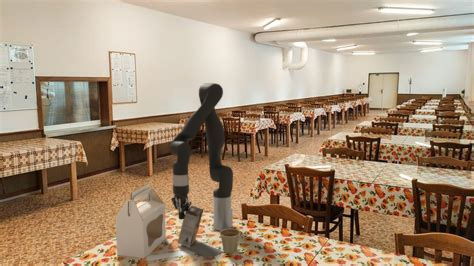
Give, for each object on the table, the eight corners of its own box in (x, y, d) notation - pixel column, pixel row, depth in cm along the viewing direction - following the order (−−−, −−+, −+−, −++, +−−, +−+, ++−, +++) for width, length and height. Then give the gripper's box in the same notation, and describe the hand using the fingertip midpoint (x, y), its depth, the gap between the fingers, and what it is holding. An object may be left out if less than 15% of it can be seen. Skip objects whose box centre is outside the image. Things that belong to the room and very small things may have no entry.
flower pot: (225, 257, 159) (225, 238, 158) (216, 249, 167) (216, 230, 166) (244, 252, 163) (244, 234, 162) (234, 244, 172) (234, 227, 171)
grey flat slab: (201, 242, 174) (201, 242, 174) (223, 252, 164) (223, 251, 164) (186, 248, 168) (186, 248, 167) (208, 258, 158) (208, 258, 158)
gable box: (144, 259, 158) (141, 195, 155) (116, 255, 161) (113, 193, 158) (166, 238, 179) (164, 182, 176) (141, 235, 183) (139, 180, 179)
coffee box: (183, 235, 179) (191, 205, 176) (195, 239, 178) (204, 209, 175) (176, 243, 170) (185, 211, 167) (189, 247, 169) (198, 216, 166)
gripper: (196, 184, 171) (196, 220, 173) (178, 179, 180) (179, 213, 182) (183, 187, 165) (184, 224, 167) (165, 182, 174) (166, 217, 176)
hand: (181, 218), depth 174 cm, fingers closed
